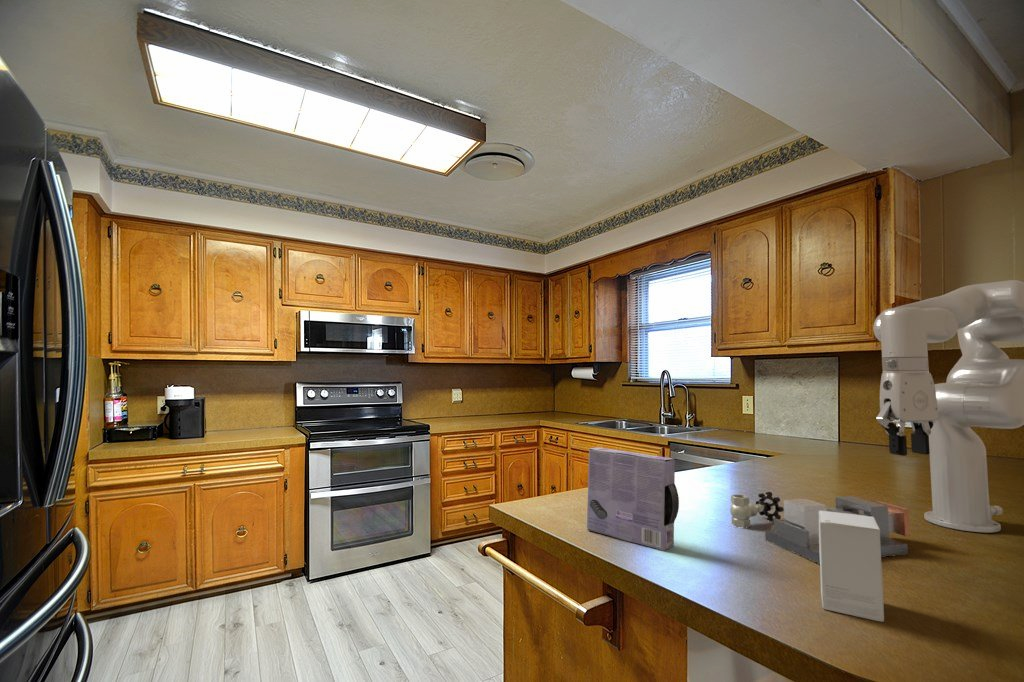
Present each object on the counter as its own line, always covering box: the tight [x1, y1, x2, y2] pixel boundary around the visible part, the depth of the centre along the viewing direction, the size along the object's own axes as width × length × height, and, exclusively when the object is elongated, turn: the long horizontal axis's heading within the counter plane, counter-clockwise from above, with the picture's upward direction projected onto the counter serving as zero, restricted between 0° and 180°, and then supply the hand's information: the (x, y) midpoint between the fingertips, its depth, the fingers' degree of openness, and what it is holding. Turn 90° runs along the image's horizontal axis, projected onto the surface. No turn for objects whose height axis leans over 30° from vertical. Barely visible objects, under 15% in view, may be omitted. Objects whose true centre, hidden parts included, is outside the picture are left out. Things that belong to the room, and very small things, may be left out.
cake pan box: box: [586, 446, 680, 552], centre depth 101 cm, size 19×5×18 cm, turn 47°
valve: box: [729, 491, 784, 529], centre depth 110 cm, size 7×7×12 cm
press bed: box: [764, 495, 909, 563], centre depth 95 cm, size 20×13×8 cm, turn 103°
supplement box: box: [819, 510, 885, 623], centre depth 72 cm, size 7×7×13 cm
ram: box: [827, 500, 911, 537], centre depth 97 cm, size 14×6×5 cm, turn 103°
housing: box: [783, 498, 827, 544], centre depth 94 cm, size 6×5×7 cm
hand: (909, 453), depth 100 cm, fingers open, 5 cm apart
